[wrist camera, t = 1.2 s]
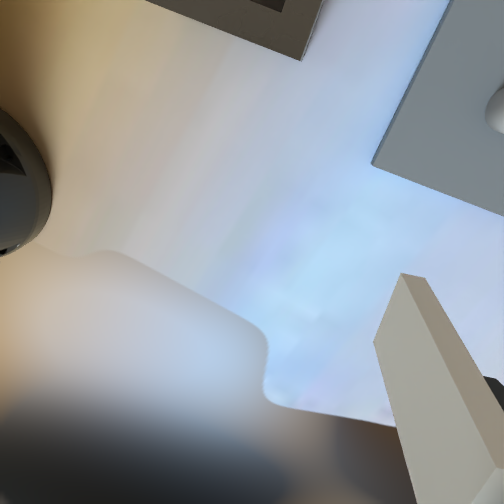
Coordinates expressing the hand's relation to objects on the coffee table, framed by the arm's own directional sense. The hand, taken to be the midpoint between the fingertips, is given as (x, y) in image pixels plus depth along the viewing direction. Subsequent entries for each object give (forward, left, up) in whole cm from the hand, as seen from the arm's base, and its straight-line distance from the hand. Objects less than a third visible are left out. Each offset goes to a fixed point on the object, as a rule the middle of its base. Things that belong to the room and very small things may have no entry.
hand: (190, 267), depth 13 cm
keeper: (+16, +9, -22) cm, 28 cm away
